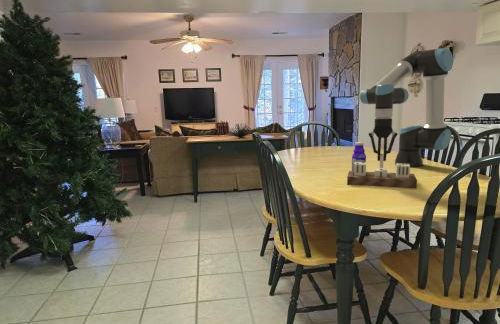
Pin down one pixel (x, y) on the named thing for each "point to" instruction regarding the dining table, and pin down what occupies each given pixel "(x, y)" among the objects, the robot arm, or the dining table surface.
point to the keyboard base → (382, 180)
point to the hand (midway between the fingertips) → (381, 167)
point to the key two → (360, 168)
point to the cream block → (380, 172)
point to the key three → (402, 170)
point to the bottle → (358, 154)
